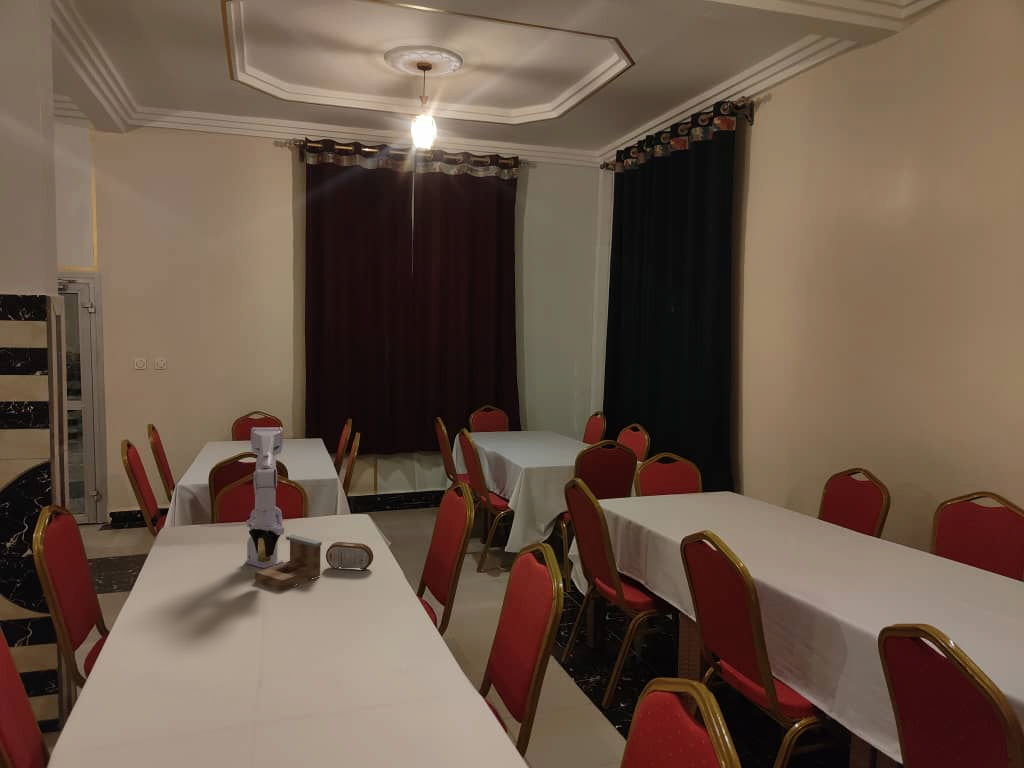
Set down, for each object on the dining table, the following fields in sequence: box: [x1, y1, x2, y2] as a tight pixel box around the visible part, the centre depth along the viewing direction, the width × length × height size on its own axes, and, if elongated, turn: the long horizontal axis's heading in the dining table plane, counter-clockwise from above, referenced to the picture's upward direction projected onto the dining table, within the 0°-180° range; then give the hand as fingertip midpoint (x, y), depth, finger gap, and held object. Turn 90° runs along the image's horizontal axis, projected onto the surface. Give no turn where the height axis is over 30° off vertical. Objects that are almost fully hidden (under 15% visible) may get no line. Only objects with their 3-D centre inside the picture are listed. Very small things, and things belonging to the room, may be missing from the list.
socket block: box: [254, 534, 323, 591], centre depth 214 cm, size 13×15×11 cm
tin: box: [325, 541, 374, 570], centre depth 225 cm, size 15×3×8 cm, turn 84°
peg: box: [258, 536, 271, 562], centre depth 210 cm, size 4×4×7 cm
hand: (264, 554), depth 210 cm, fingers closed on peg, 4 cm apart
